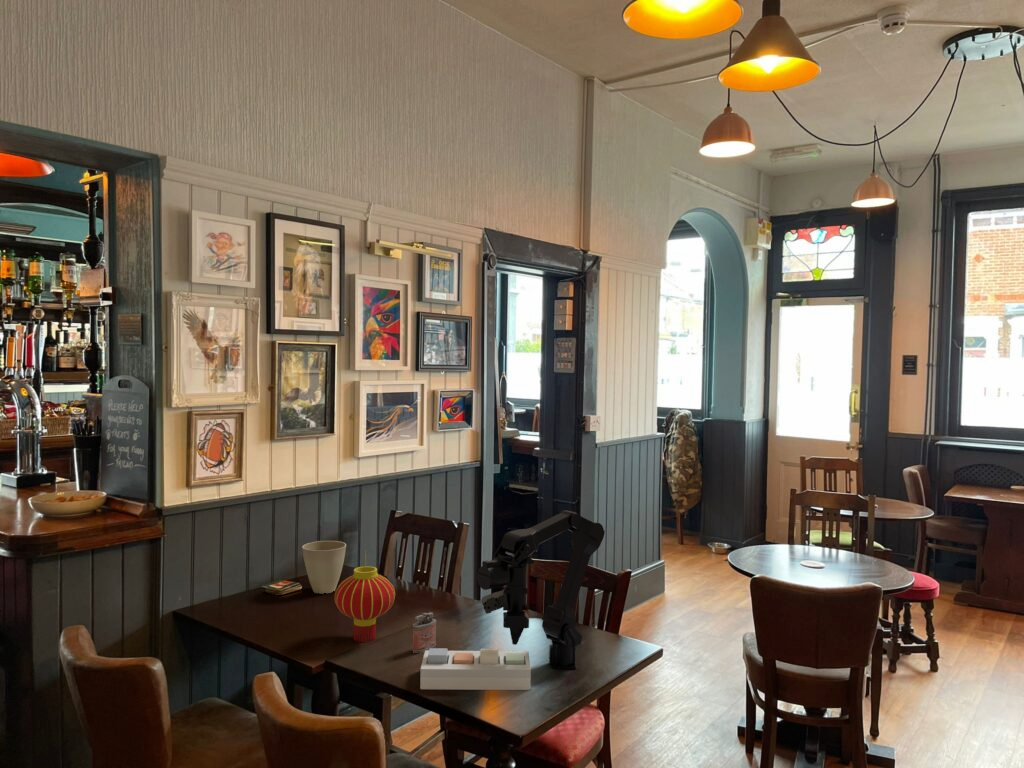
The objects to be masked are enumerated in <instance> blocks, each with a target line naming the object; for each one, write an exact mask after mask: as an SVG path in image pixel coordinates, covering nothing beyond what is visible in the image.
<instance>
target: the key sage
mask: <svg viewBox="0 0 1024 768" xmlns="http://www.w3.org/2000/svg"><path fill="white" fill-rule="evenodd" d="M506 665H524V653H506Z"/></svg>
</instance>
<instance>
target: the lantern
mask: <svg viewBox="0 0 1024 768" xmlns="http://www.w3.org/2000/svg"><path fill="white" fill-rule="evenodd" d="M364 557H365V559H364V561H365V565H364V566H358V567H355V568H354V569H353V573H352V575H350V576H348V577H346V578H345V579H344V580H342V581H341V583H340V584H339V585H337V586H338V587H337V588H336V589H335V593H334V603H335V605H336V607H337V609H338V610H339V611H340V613H341V614H343V615H344V616H346V617H348V618H350V619H353V640H354V641H356V642H359V643H366V642H372V641H374V640H375V639H376V637H377V635H376V634H377V618H378V617H381V616H383V615H384V614H386V613H387V612H389V610H390V609H391V608H392V607H393V605H394V602H395V599H396V598H395V597H396V590H395V586H394V585H393V584H392V583H391V582H390V581H389V579H388V578H386V577H385V576H383V575H381V574H379V573H378V568H377V567H375V566H367V551H365V556H364Z"/></svg>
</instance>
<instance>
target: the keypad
mask: <svg viewBox="0 0 1024 768" xmlns="http://www.w3.org/2000/svg"><path fill="white" fill-rule="evenodd" d="M423 653H424V654H423V657H422V661H421V662H422V663H421V666H420V680H419V681H420V686H419V687H420V690H460V691H461V690H469V691H470V690H476V691H477V690H478V691H479V690H480V691H484V690H485V691H487V690H489V691H494V690H495V691H509V690H510V691H531V681H532V680H531V674H532V673H531V671H532V670H531V668H532V667H531V663H530V662H531V661H530V652H529V651H527V650H522V651H520V650H517V651H516V650H515V651H514V650H512V651H510V650H498V664H480V650H448V657H447V664H428V653H429V650H425V652H423ZM455 653H473V664H454V656H455ZM506 653H524V665H506Z"/></svg>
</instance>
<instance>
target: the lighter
mask: <svg viewBox="0 0 1024 768" xmlns="http://www.w3.org/2000/svg"><path fill="white" fill-rule="evenodd" d="M433 617H434V613H433V612H428V613H427V612H423V613H422V614H420V615H417V616H415V618H414V619H415V620H414V622H416V623H413V624H412V629H413V630H412V634H413V635H412V636H413V637H412V638H413V639H412V649H411V650H412V651H413V652H414V653H420V654H422V653H421V652H423V653H425V650H429V649H430V648H434V647H435V648H436V647H437V643H436V638H437V637H436V627H437V626H436V624H437V619H435V618H433ZM414 653H413V654H414Z"/></svg>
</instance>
